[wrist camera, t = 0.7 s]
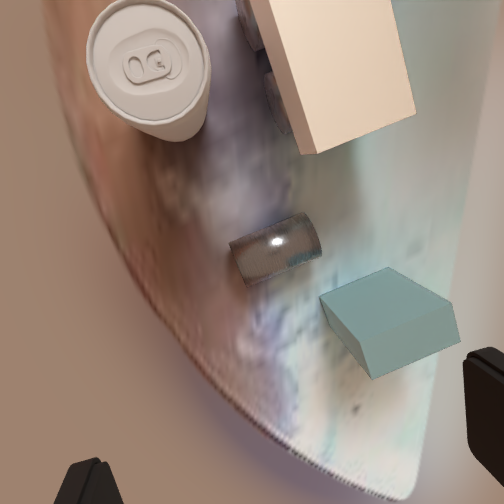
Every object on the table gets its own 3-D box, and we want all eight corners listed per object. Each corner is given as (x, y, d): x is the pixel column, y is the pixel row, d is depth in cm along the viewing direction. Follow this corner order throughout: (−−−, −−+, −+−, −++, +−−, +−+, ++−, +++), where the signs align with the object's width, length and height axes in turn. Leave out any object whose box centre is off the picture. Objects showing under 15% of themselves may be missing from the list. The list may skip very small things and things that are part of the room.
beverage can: (215, 131, 26) (228, 109, 15) (151, 151, 26) (111, 144, 14) (193, 60, 25) (188, -26, 13) (125, 80, 24) (59, 10, 13)
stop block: (388, 266, 31) (451, 302, 23) (397, 297, 31) (460, 341, 24) (319, 296, 30) (359, 342, 23) (329, 325, 31) (372, 379, 24)
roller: (297, 209, 28) (311, 216, 25) (311, 250, 29) (326, 262, 26) (226, 238, 28) (230, 249, 25) (243, 278, 29) (249, 294, 26)
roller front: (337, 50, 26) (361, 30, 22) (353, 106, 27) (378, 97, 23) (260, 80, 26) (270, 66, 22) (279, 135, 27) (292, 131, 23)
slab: (330, -94, 20) (356, -145, 17) (385, 120, 23) (416, 113, 20) (230, -57, 20) (237, -101, 16) (300, 154, 23) (317, 153, 20)
